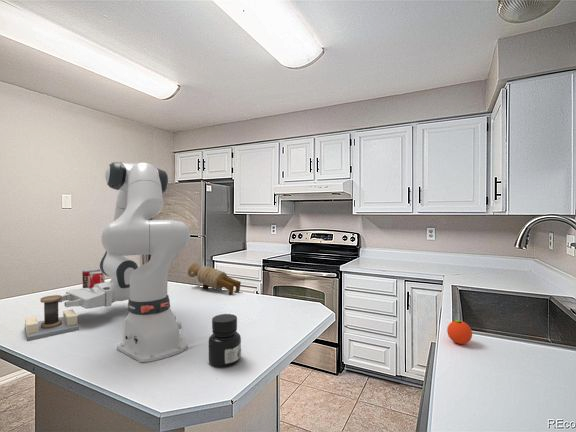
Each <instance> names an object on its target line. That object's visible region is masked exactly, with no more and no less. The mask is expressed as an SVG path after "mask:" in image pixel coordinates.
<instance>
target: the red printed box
mask: <svg viewBox="0 0 576 432" xmlns="http://www.w3.org/2000/svg"><path fill="white" fill-rule="evenodd" d="M95 271H101V270H100V267H92V268H91V267H90V268H86V269H85V268H84V269H82V273H81V274H82V288H88V276H89V273H90V272H95Z"/></svg>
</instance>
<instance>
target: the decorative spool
mask: <svg viewBox="0 0 576 432" xmlns="http://www.w3.org/2000/svg"><path fill="white" fill-rule="evenodd" d="M187 276H189V278H194V277H196V278H197V281H198V282H199V283H200V284H202V289H203V290H209V288H212V290H218V289H219V290H222V289H223V288H225V289H226V290H227V291H228V295H229V296H232V295H233V293H234V288H235V293H236V294H237V293H240V290H241V284H242V283H241V281H239V280H237V279H234V278H232V277H229V275H227V273H226V272H225V271H222V270H219V269H216V268H214V267H211V266H209V265H204V266H202V267H201V266H199V264H198V263H197V262H194V263H191V265H190V266H189V267H188V269H187ZM219 290H218V291H219Z"/></svg>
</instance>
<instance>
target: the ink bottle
mask: <svg viewBox="0 0 576 432" xmlns="http://www.w3.org/2000/svg"><path fill="white" fill-rule="evenodd" d="M211 323H212V324H211V329H212V331H211V332H212V334H210V336H209V338H208V341H207V343H208V344H207V345H208V364H210V365H211V366H213V367H216V368H229V367H233V366H235V365H236V364H238V363H239V362H240V361H241V358H242V338H241V335H240V333H239V332H238V331H237V330H238V317H237V315H235V314H231V313H224V314H217V315H215V316H213V317H212V318H211Z"/></svg>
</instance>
